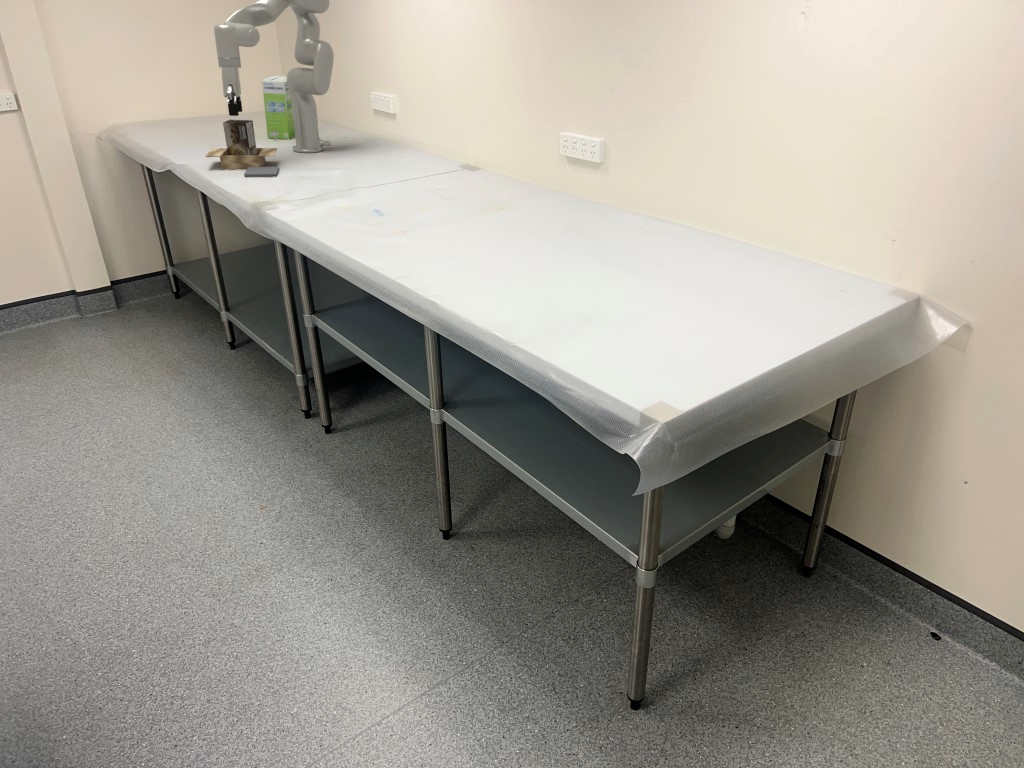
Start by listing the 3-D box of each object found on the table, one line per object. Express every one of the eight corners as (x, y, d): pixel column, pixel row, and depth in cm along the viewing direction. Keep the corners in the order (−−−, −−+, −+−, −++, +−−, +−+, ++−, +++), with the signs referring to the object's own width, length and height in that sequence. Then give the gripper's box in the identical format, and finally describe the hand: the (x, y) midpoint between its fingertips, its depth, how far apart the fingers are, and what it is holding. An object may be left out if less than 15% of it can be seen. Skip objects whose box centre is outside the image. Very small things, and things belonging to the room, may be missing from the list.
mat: (279, 169, 278) (279, 166, 277) (276, 176, 267) (276, 174, 267) (248, 169, 276) (248, 166, 275) (244, 177, 266) (244, 174, 265)
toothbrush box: (290, 139, 327) (284, 81, 316) (267, 139, 327) (260, 80, 316) (302, 132, 343) (296, 76, 331) (279, 131, 343) (273, 75, 331)
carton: (278, 161, 290) (277, 148, 287) (275, 169, 277) (273, 155, 275) (214, 161, 285) (211, 148, 283) (207, 170, 273) (205, 156, 271)
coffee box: (259, 164, 284) (253, 120, 276) (252, 168, 278) (246, 122, 271) (236, 163, 285) (229, 118, 277) (228, 166, 279) (222, 121, 271)
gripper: (222, 60, 271) (228, 110, 279) (214, 64, 256) (221, 117, 264) (244, 61, 272) (249, 110, 280) (237, 65, 257) (243, 117, 265)
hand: (236, 113), depth 272 cm, fingers open, 9 cm apart
